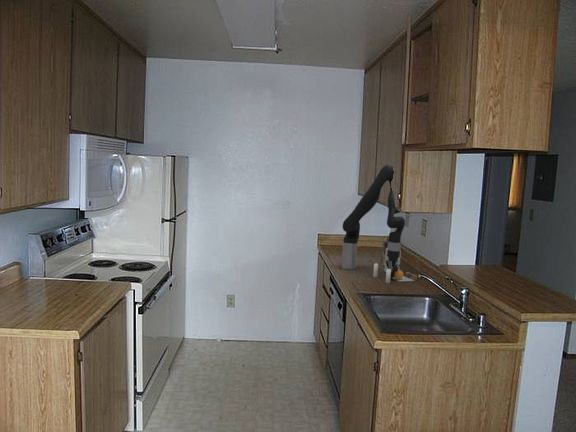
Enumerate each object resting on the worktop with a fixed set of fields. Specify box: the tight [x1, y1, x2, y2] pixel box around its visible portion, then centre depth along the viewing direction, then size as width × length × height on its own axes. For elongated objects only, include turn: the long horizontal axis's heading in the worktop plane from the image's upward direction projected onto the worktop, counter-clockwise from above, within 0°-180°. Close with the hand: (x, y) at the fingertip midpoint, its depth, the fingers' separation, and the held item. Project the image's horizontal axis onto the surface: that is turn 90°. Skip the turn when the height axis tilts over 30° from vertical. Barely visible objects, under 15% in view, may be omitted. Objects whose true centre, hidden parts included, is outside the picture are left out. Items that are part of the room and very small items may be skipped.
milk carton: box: [383, 247, 402, 273], centre depth 311 cm, size 7×7×19 cm
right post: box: [385, 269, 391, 284], centre depth 283 cm, size 3×3×8 cm
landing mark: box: [391, 275, 415, 282], centre depth 295 cm, size 11×11×1 cm
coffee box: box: [380, 241, 389, 267], centre depth 333 cm, size 9×6×16 cm
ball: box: [394, 269, 405, 280], centre depth 293 cm, size 6×6×6 cm
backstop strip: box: [404, 271, 418, 282], centre depth 297 cm, size 10×2×3 cm, turn 18°
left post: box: [372, 262, 379, 278], centre depth 297 cm, size 3×3×8 cm
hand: (391, 277), depth 292 cm, fingers closed
